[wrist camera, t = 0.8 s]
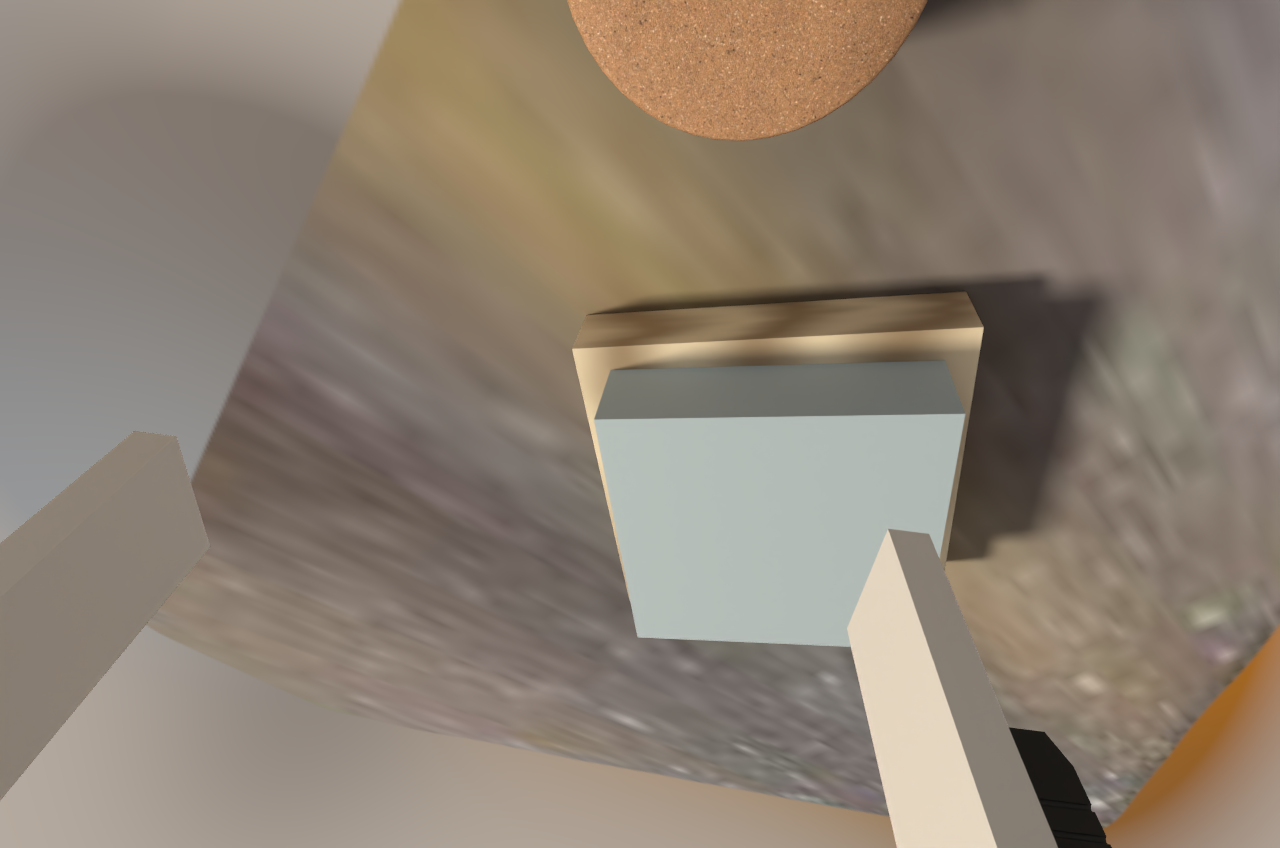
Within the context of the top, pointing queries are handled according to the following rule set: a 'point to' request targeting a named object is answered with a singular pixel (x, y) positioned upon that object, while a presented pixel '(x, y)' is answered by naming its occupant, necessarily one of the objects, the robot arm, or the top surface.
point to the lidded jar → (743, 57)
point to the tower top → (771, 489)
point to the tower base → (786, 345)
